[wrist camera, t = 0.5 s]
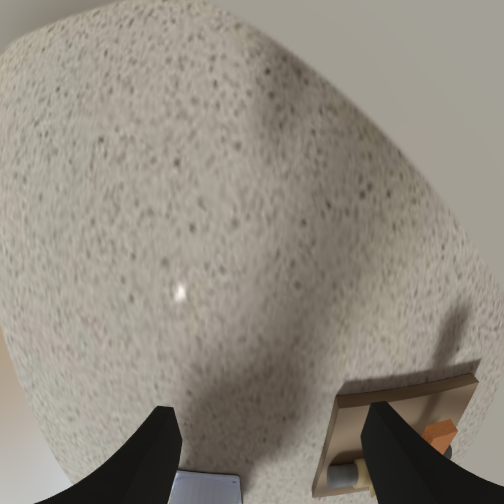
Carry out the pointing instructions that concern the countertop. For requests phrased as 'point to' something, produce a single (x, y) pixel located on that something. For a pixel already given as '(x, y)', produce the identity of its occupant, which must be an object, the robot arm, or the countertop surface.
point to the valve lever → (440, 434)
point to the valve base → (353, 418)
